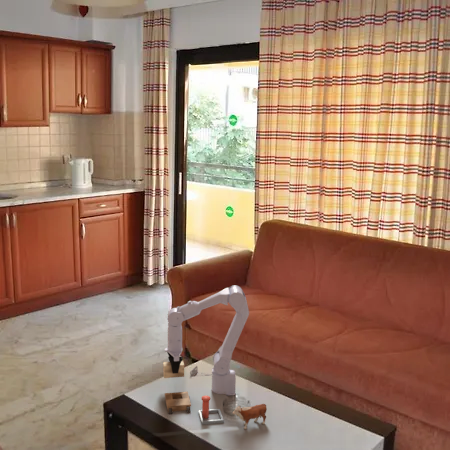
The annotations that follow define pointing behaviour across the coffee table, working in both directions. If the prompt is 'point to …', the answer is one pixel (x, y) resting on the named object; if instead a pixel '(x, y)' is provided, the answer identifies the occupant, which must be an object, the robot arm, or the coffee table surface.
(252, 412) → the bull figurine
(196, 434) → the coffee table surface
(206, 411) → the pin
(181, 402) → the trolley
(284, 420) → the coffee table surface
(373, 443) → the coffee table surface
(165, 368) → the block
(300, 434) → the coffee table surface
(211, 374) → the bracket
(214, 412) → the grey square frame
